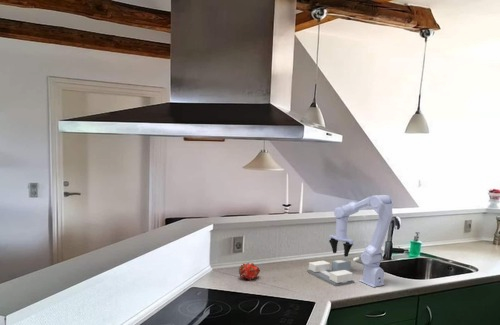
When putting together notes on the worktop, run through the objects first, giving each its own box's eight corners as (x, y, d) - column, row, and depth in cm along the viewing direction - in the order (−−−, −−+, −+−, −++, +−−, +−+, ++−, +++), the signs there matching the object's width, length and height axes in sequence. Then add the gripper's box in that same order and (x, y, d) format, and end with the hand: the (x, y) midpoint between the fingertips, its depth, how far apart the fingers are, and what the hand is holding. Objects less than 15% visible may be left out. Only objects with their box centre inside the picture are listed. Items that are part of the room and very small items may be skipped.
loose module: (350, 272, 197) (350, 261, 197) (337, 274, 193) (337, 263, 193) (344, 270, 201) (344, 259, 201) (331, 272, 197) (331, 260, 197)
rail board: (354, 282, 182) (354, 272, 182) (335, 286, 176) (335, 276, 176) (324, 269, 201) (325, 260, 201) (307, 271, 195) (307, 262, 195)
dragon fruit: (235, 282, 180) (257, 283, 185) (243, 277, 174) (265, 277, 179) (234, 265, 185) (255, 266, 190) (241, 259, 179) (263, 260, 184)
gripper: (357, 231, 195) (356, 256, 195) (335, 226, 206) (334, 250, 207) (349, 232, 191) (347, 258, 191) (327, 227, 202) (326, 252, 202)
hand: (340, 254), depth 199 cm, fingers open, 7 cm apart
